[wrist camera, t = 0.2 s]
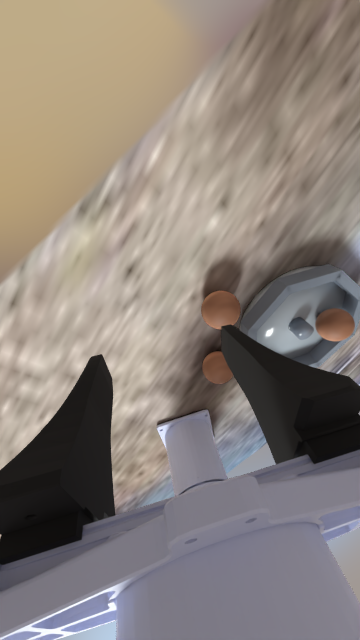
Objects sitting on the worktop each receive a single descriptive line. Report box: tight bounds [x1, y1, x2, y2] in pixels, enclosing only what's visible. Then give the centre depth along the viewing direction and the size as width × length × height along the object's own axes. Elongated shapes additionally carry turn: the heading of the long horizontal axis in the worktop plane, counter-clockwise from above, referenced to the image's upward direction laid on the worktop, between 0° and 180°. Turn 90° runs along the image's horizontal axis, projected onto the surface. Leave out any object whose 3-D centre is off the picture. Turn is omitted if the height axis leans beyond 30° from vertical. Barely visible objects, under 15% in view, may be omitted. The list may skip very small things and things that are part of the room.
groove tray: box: [239, 264, 360, 368], centre depth 28 cm, size 14×14×3 cm
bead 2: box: [202, 351, 233, 384], centre depth 28 cm, size 4×4×4 cm
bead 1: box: [201, 291, 241, 329], centre depth 23 cm, size 4×4×4 cm
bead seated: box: [315, 308, 355, 341], centre depth 27 cm, size 4×4×4 cm
